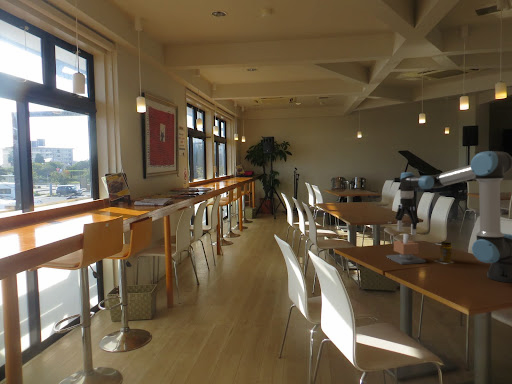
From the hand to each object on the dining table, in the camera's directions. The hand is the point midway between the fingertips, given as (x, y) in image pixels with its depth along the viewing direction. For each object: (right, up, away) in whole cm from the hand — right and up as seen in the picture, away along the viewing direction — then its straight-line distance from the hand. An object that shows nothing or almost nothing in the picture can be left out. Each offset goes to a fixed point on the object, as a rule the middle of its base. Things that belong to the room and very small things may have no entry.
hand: (406, 232), depth 227 cm
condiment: (+21, -17, -3) cm, 28 cm away
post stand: (0, -17, +2) cm, 17 cm away
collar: (0, -12, +1) cm, 12 cm away
